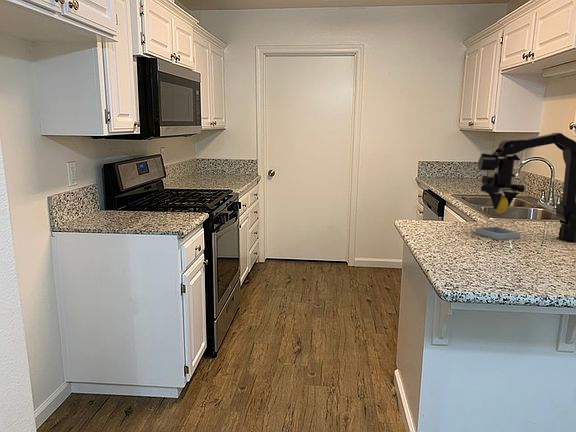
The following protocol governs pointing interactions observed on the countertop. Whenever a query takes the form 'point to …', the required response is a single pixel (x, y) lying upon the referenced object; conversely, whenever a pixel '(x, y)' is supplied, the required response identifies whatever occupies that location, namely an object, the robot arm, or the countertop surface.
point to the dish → (497, 233)
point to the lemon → (502, 205)
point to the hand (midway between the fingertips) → (500, 208)
